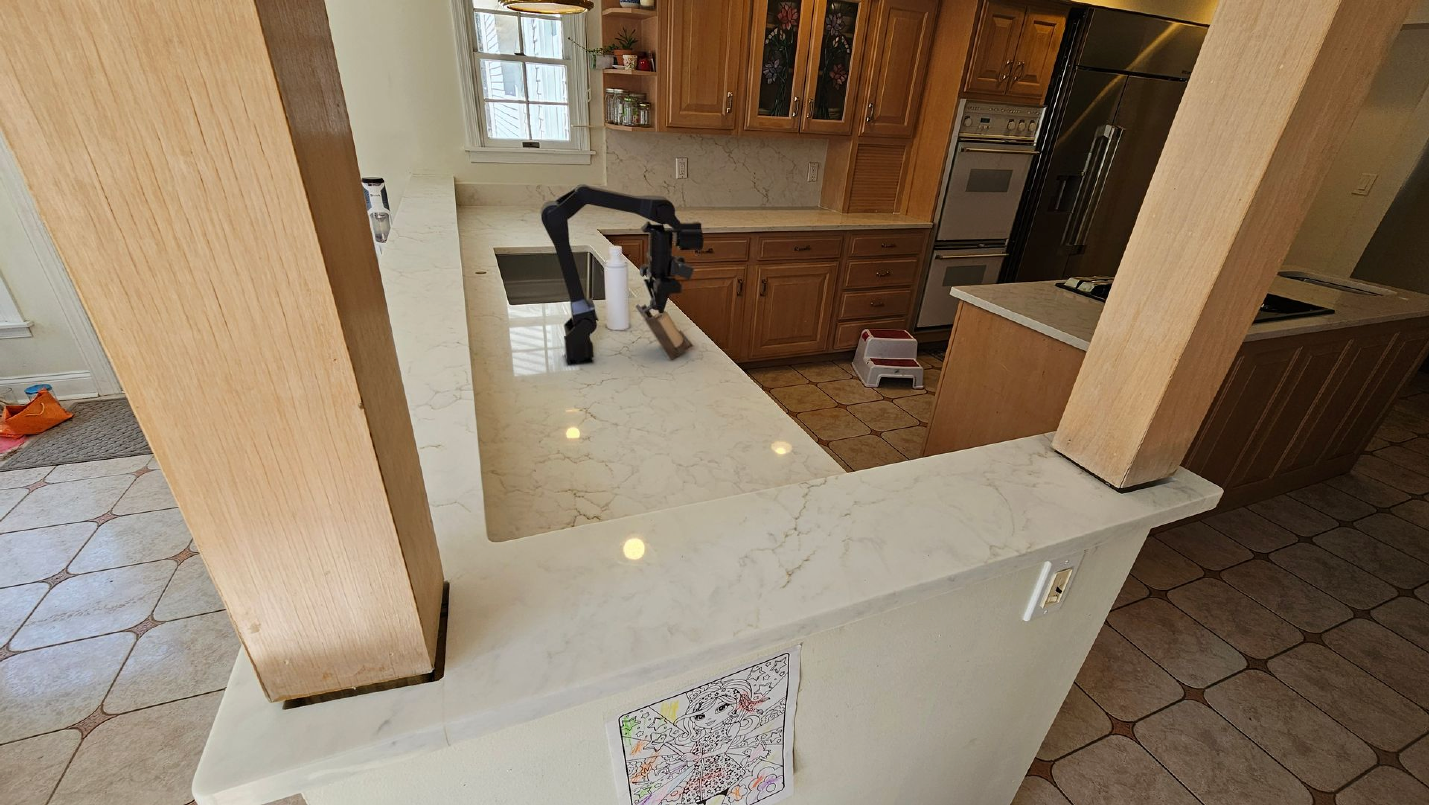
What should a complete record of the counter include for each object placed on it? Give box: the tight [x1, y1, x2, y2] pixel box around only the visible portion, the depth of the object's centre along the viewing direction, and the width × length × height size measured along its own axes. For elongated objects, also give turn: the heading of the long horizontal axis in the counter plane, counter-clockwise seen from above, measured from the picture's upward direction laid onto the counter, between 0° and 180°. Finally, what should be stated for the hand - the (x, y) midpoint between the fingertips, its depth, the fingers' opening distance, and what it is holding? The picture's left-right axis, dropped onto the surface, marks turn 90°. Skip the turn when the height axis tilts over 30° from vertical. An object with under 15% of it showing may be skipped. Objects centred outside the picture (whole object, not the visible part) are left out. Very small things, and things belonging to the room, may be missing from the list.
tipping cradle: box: [635, 297, 694, 361], centre depth 160 cm, size 15×10×7 cm
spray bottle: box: [603, 245, 630, 331], centre depth 175 cm, size 7×7×25 cm
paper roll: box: [654, 310, 683, 348], centre depth 161 cm, size 9×5×5 cm
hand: (659, 310), depth 158 cm, fingers closed on tipping cradle, 3 cm apart
